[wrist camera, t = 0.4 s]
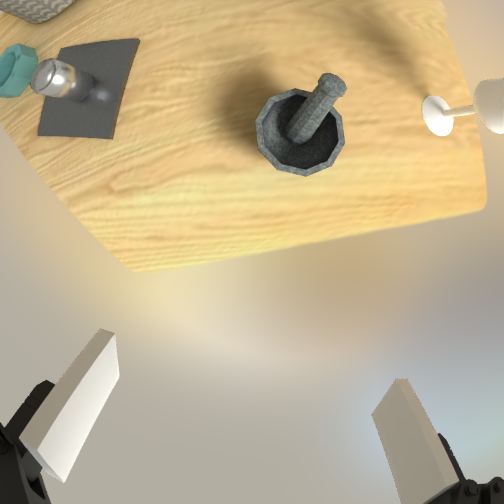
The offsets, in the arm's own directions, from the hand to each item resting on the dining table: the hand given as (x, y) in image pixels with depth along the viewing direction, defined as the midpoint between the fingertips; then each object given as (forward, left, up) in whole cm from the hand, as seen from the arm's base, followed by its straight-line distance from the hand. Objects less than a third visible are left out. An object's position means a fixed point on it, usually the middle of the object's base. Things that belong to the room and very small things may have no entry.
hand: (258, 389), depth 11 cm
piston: (-17, -31, -28) cm, 45 cm away
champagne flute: (-25, +23, -28) cm, 44 cm away
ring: (-22, -51, -28) cm, 62 cm away
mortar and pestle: (-14, +2, -28) cm, 31 cm away
